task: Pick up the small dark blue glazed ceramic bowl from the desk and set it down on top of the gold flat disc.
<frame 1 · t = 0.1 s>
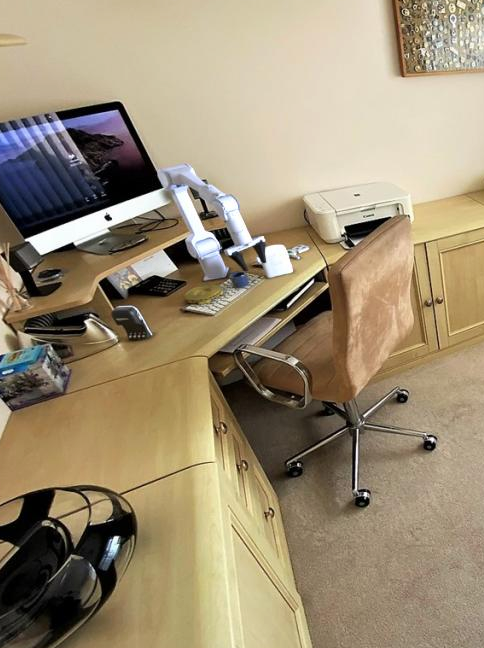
hand: (255, 266, 156), 10 cm above the table, tool pointing down, fingers open, 7 cm apart
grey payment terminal: (140, 338, 138), on the table
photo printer: (280, 274, 175), on the table
robot figure: (284, 256, 190), on the table
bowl: (241, 284, 167), on the table
gold flat disc: (205, 297, 160), on the table
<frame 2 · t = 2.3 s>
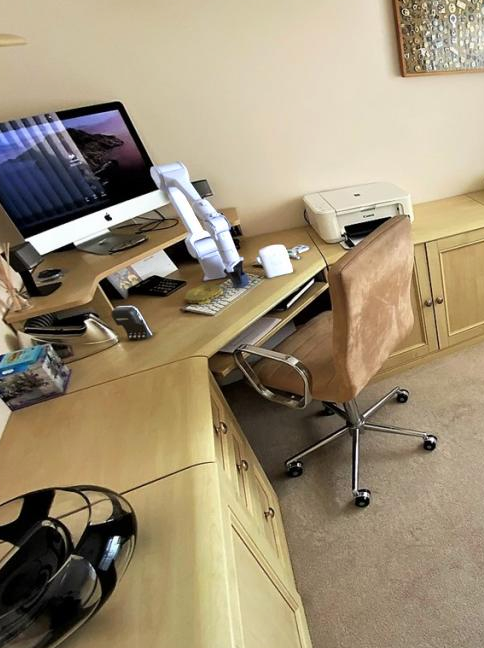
hand: (240, 281, 166), 2 cm above the table, tool pointing down, fingers closed on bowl, 5 cm apart
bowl: (241, 284, 167), on the table, touching gripper
everything else where it was.
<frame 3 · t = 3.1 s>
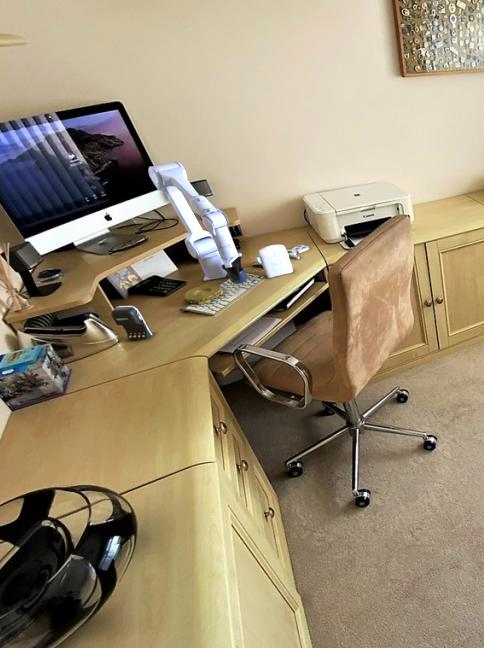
hand: (238, 277, 166), 3 cm above the table, tool pointing down, fingers closed on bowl, 5 cm apart
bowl: (239, 280, 167), point 2 cm above the table, touching gripper
everything else where it was.
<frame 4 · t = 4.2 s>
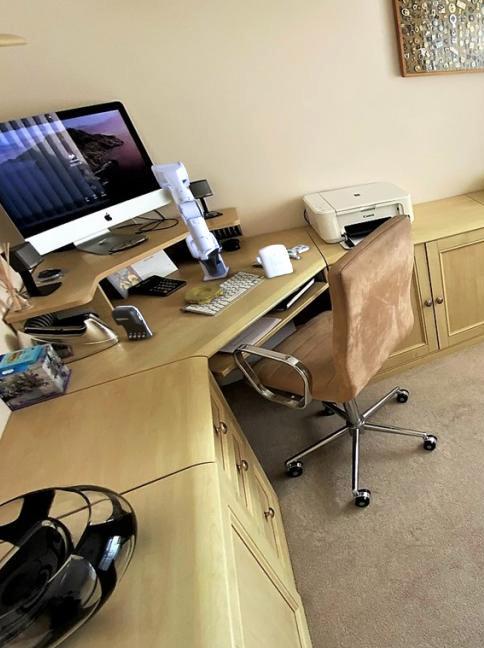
hand: (216, 270, 159), 9 cm above the table, tool pointing down, fingers closed on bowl, 5 cm apart
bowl: (218, 274, 160), point 7 cm above the table, touching gripper
everything else where it was.
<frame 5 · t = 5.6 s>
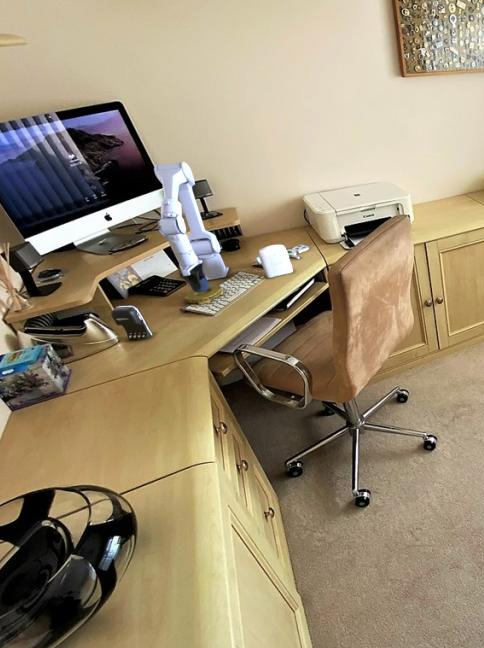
hand: (199, 285, 157), 5 cm above the table, tool pointing down, fingers closed on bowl, 5 cm apart
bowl: (201, 289, 158), point 3 cm above the table, touching gripper
everything else where it was.
when the fingers open (4 cm above the table, at t = 6.5 s): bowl stays where it is, resting on gold flat disc.
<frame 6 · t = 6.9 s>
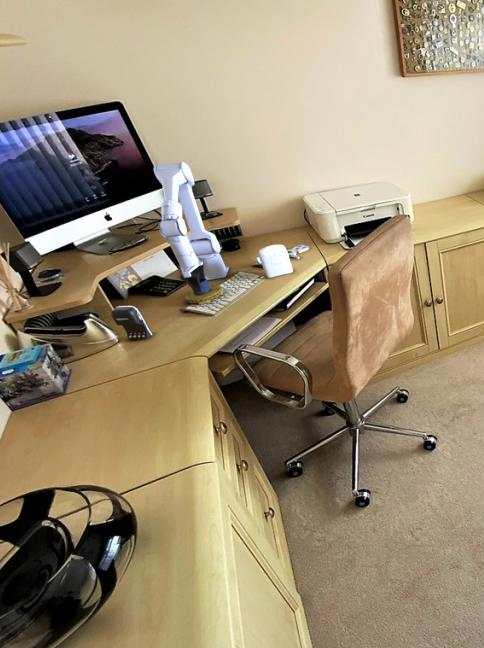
hand: (200, 286, 158), 4 cm above the table, tool pointing down, fingers open, 7 cm apart
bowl: (202, 291, 159), point 2 cm above the table, touching gold flat disc
gold flat disc: (205, 297, 160), on the table, touching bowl
everything else where it was.
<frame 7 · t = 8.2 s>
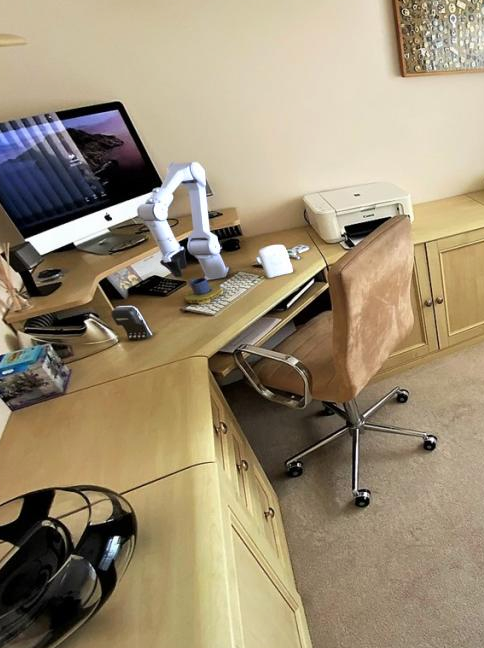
hand: (181, 272, 157), 9 cm above the table, tool pointing down, fingers open, 7 cm apart
nothing on the table moved.
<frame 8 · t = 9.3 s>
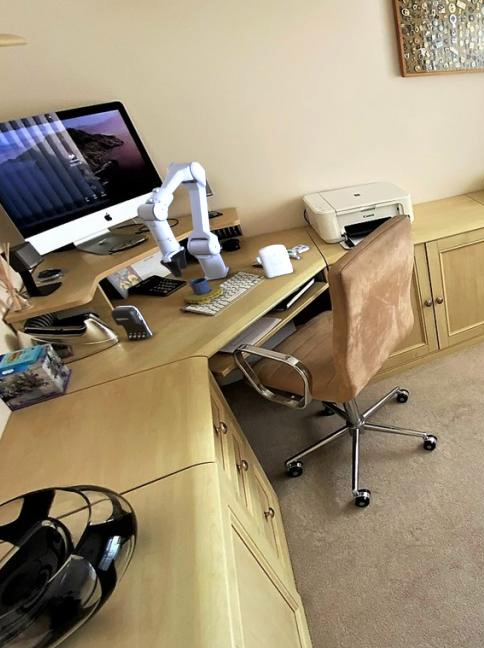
hand: (181, 272, 157), 9 cm above the table, tool pointing down, fingers open, 7 cm apart
nothing on the table moved.
at the end: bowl inside the target area on the gold flat disc (0.0 cm from its centre), point 2.4 cm above the gold flat disc's base; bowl tilted 0°; the gripper is holding nothing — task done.
